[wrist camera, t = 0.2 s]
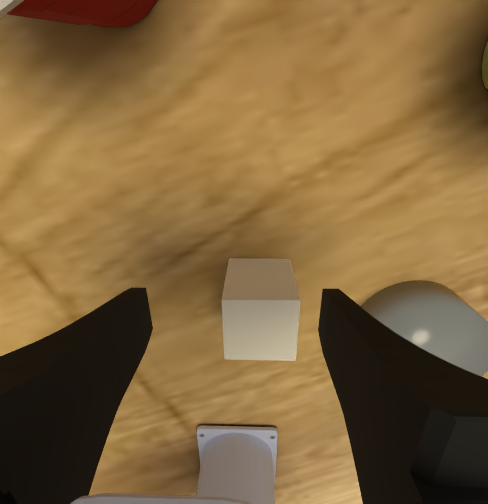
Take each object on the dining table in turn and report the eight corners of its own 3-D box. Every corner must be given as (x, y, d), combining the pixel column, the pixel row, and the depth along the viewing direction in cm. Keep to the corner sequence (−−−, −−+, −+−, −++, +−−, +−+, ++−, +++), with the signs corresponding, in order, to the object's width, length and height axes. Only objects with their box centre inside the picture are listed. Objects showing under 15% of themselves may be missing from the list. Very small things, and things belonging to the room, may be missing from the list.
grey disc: (446, 369, 26) (473, 404, 23) (342, 367, 26) (354, 402, 23) (479, 279, 22) (517, 307, 19) (358, 278, 22) (375, 305, 19)
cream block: (286, 309, 24) (295, 360, 19) (230, 308, 24) (224, 359, 19) (290, 258, 22) (300, 300, 17) (229, 258, 22) (221, 299, 17)
